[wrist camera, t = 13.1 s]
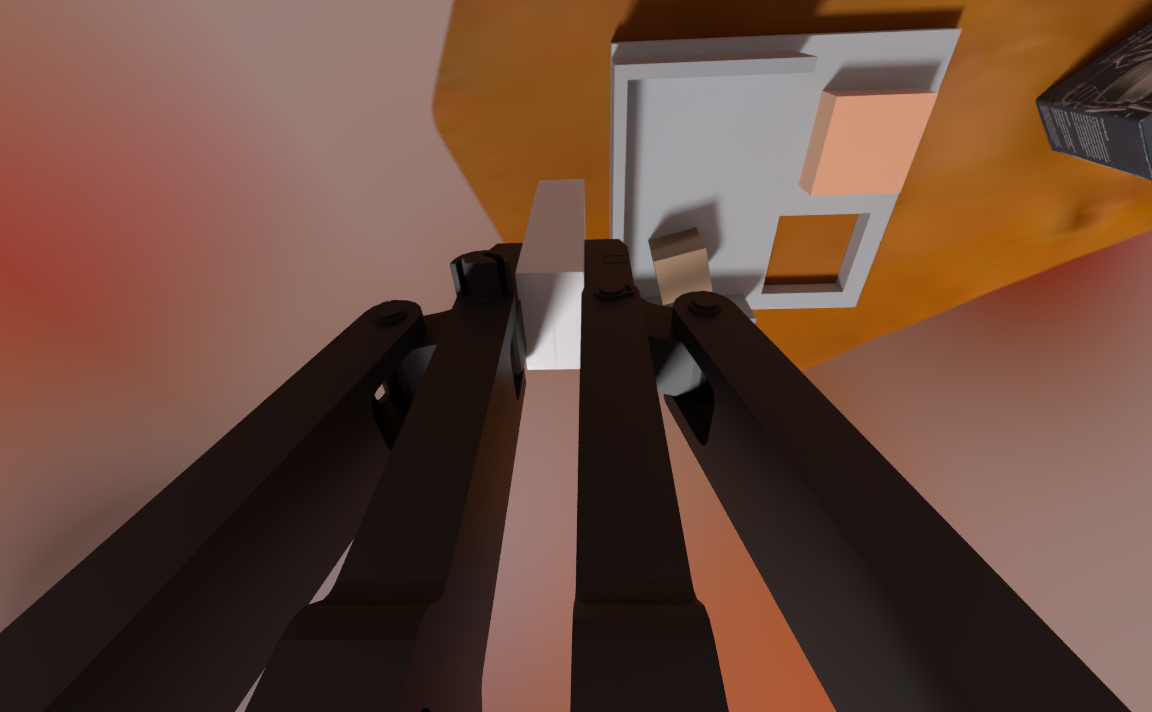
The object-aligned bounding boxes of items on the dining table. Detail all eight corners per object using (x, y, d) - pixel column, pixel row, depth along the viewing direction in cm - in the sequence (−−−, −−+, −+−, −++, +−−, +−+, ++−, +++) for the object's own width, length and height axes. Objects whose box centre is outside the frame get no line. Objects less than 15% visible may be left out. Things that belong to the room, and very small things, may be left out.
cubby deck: (610, 42, 40) (614, 49, 34) (946, 27, 39) (1006, 32, 33) (608, 303, 56) (611, 337, 50) (847, 298, 55) (877, 331, 49)
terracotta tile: (822, 90, 40) (837, 96, 38) (917, 87, 40) (938, 92, 37) (798, 185, 45) (810, 195, 42) (883, 182, 45) (899, 193, 42)
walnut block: (648, 240, 49) (653, 262, 45) (696, 227, 48) (706, 248, 44) (657, 281, 51) (663, 304, 47) (702, 269, 50) (712, 292, 47)
